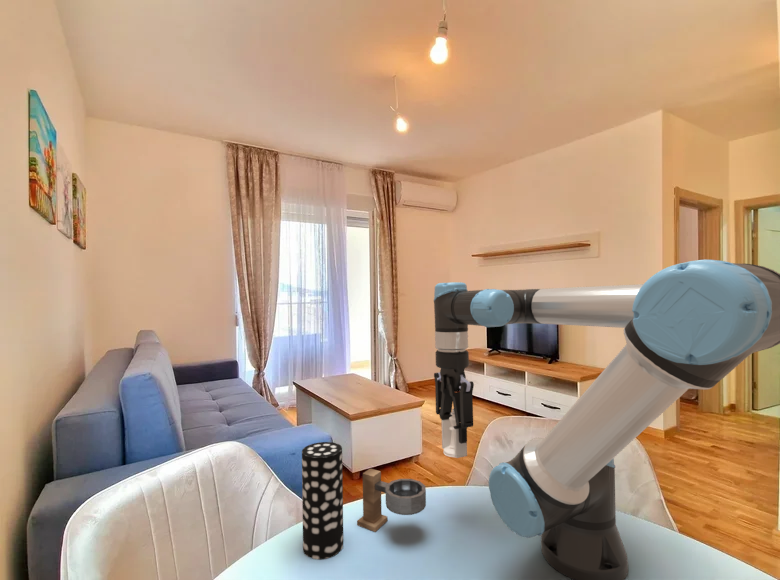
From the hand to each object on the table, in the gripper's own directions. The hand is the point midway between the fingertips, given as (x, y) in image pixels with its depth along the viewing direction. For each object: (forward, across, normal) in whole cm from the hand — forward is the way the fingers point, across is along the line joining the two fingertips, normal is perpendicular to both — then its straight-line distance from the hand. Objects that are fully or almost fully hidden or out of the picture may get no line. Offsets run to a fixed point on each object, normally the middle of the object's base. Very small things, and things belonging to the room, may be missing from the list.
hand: (454, 451), depth 88 cm
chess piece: (+1, 0, 0) cm, 1 cm away
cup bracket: (+9, +2, +14) cm, 17 cm away
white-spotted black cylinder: (+16, +4, +30) cm, 34 cm away
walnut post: (+16, +8, +17) cm, 25 cm away
